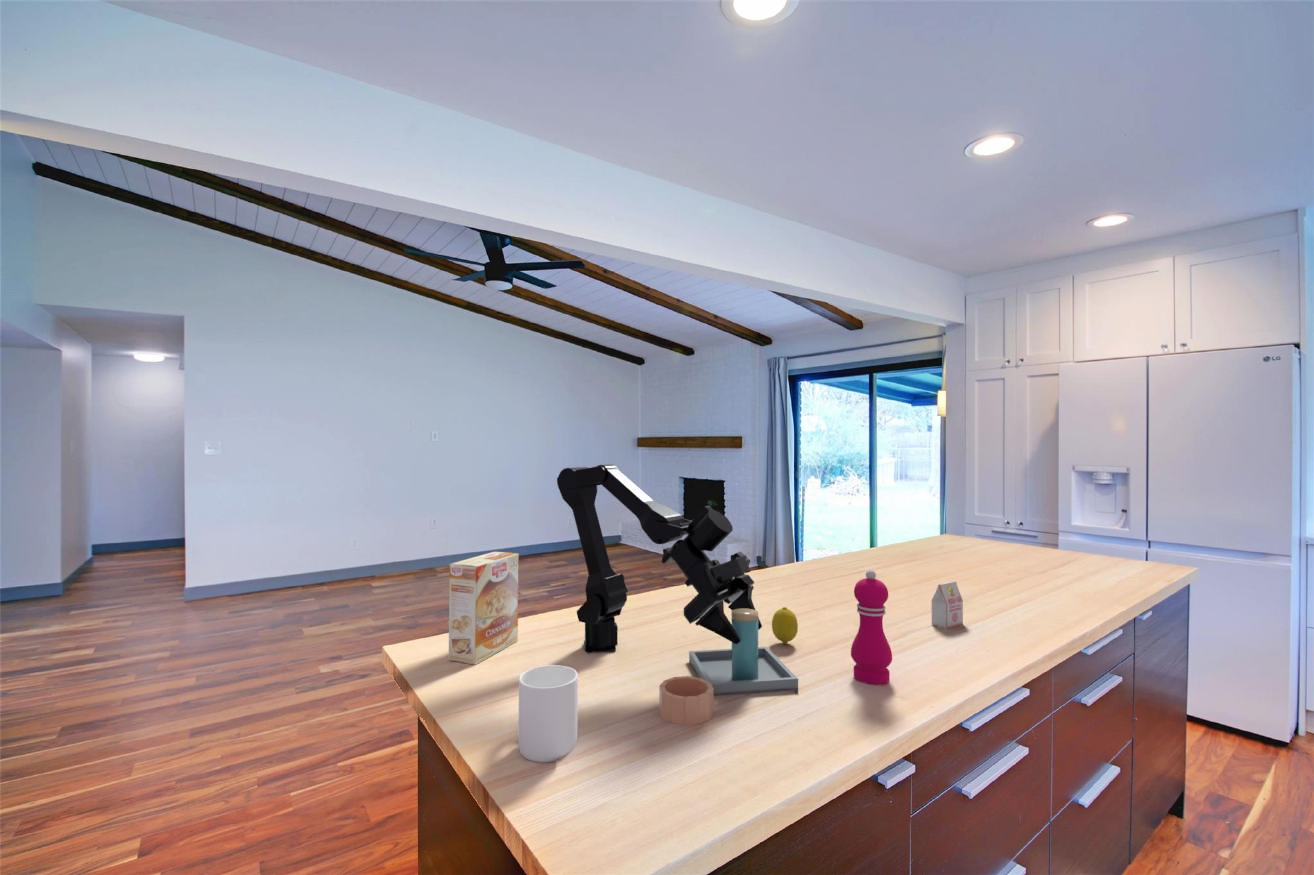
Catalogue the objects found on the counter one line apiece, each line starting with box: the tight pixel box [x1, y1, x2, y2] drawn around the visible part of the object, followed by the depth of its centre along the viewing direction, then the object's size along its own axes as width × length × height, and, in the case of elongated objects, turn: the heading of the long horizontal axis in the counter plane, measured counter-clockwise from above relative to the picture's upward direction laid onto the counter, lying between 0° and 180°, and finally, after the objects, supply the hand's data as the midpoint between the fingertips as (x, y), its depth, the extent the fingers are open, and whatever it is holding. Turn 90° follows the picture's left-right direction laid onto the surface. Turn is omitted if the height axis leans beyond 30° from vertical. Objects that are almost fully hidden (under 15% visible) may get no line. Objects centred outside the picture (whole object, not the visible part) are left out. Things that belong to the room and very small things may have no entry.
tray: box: [688, 646, 799, 697], centre depth 107 cm, size 16×16×2 cm
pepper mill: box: [850, 569, 893, 686], centre depth 106 cm, size 7×7×20 cm
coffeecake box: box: [448, 551, 520, 665], centre depth 121 cm, size 15×7×20 cm, turn 160°
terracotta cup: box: [658, 675, 715, 726], centre depth 92 cm, size 8×8×4 cm
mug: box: [518, 664, 579, 764], centre depth 83 cm, size 12×8×10 cm
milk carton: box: [931, 581, 964, 630], centre depth 138 cm, size 4×7×10 cm, turn 121°
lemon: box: [771, 606, 799, 645], centre depth 125 cm, size 6×6×8 cm
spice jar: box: [730, 608, 759, 681], centre depth 104 cm, size 5×5×12 cm
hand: (749, 635), depth 103 cm, fingers open, 9 cm apart
